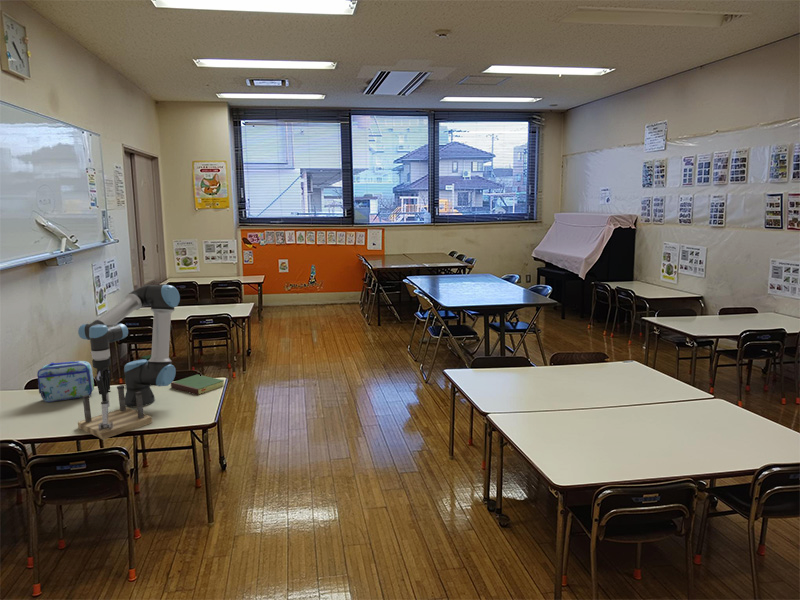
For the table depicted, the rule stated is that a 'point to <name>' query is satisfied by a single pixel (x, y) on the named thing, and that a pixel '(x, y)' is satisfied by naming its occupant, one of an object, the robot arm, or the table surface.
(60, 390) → the lunch box
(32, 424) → the table surface
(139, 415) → the stool top
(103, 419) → the hinged leg
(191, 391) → the hardcover book
